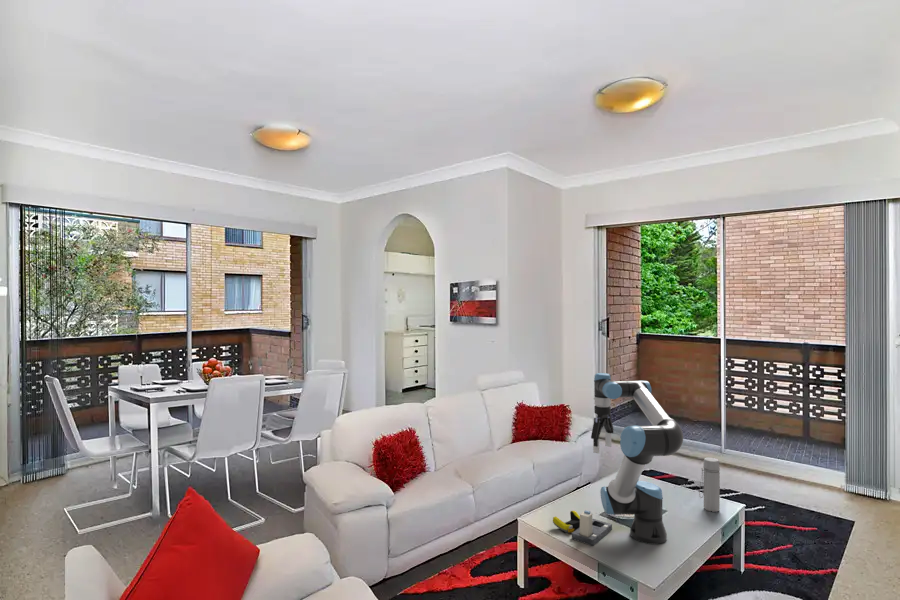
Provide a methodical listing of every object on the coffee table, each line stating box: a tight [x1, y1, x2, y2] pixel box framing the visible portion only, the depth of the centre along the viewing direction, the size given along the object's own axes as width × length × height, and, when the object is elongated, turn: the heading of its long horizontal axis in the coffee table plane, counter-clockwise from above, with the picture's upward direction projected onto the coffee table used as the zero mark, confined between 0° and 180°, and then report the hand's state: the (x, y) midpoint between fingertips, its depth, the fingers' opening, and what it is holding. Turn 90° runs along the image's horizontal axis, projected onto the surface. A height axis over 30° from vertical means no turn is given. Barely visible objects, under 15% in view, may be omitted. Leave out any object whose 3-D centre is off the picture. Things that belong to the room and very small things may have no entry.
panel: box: [571, 518, 613, 547], centre depth 235 cm, size 10×20×3 cm, turn 140°
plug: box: [579, 509, 593, 537], centre depth 230 cm, size 4×4×12 cm
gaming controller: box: [552, 510, 580, 534], centre depth 241 cm, size 15×6×10 cm
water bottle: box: [698, 457, 721, 513], centre depth 261 cm, size 9×8×25 cm
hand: (602, 449), depth 252 cm, fingers open, 13 cm apart
